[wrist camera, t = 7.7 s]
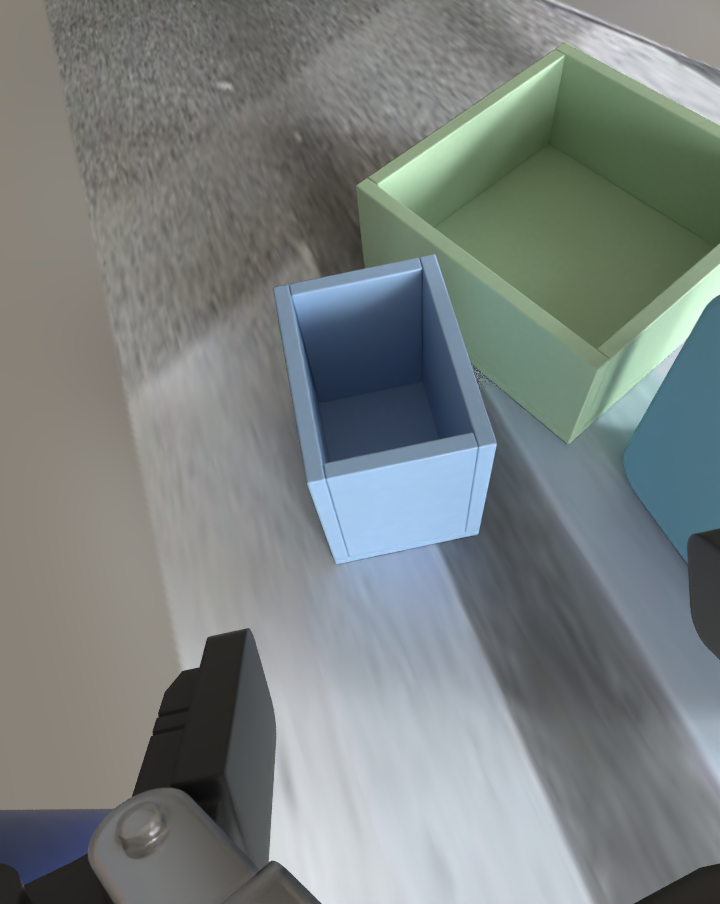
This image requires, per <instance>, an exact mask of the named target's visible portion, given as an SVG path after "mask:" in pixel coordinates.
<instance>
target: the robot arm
mask: <svg viewBox="0 0 720 904" xmlns="http://www.w3.org/2000/svg"><path fill="white" fill-rule="evenodd" d="M687 556H688V573H689V591H690V608H691V615H692V620H693V623H694V626H695V628H696V631H697V633H698V635H699V637H700V638H701V640H702V641H703V643H704V644H705V645H706V646H707V647H708V649H709V650H710V651H711V652H712V653H713V654H714V655H715V656H716V657H717V658H718V659H719V660H720V528H718V529H713V530H709V531H704V532H700V533H695V534H692V535H691V536H690V537H689V539H688V543H687ZM158 715H159V718H157V719H156V722H155V726H154V729H153V736H151V738H150V741H149V744H148V747H147V751H146V754H145V757H144V760H143V763H142V767H141V770H140V773H139V776H138V779H137V782H136V785H135V789H134V792H133V795H132V798H130V799H128V800H126V801H125V802H123V803H122V804H120V805H119V806H118V807H116V808H115V809H114V810H113V811H111V812H110V813H109V814H108V815H107V816H106V817H105V818H104V819H103V821H102V822H101V823H100V824H99V826H98V827H97V829H96V830H95V832H94V834H93V836H92V838H91V840H90V843H89V847H88V853H87V854H86V855H84V856H82V857H81V858H79V859H77V860H75V861H73V862H72V863H70V864H68V865H65V866H63V867H61V868H59V869H57V870H55V871H53V872H51V873H49V874H47V875H45V876H42V877H40V878H38V879H36V880H34V881H32V882H30V883H28V884H26V885H23V883H22V880H21V878H20V876H19V874H18V872H17V871H16V870H15V869H14V868H13V867H11V866H9V865H6V864H0V904H321V903H320V902H319V901H318V900H317V899H316V898H315V897H314V896H313V895H312V894H311V893H310V892H309V891H308V890H307V889H306V888H305V887H304V886H303V885H302V884H301V883H300V882H299V881H298V880H297V879H296V878H295V877H294V876H293V875H292V874H291V873H290V872H289V871H288V870H287V869H286V868H285V867H283V866H282V865H281V864H279V863H278V862H276V861H270V862H269V846H270V830H271V814H272V797H273V781H274V765H275V749H276V722H275V715H274V709H273V704H272V700H271V696H270V692H269V689H268V685H267V682H266V678H265V675H264V671H263V667H262V664H261V660H260V657H259V653H258V650H257V646H256V643H255V639H254V636H253V634H252V632H251V630H250V629H249V628H247V629H242V630H238V631H233V632H228V633H224V634H219V635H214V636H210V637H208V638H207V641H206V644H205V648H204V652H203V656H202V660H201V664H200V667H199V668H195V669H190V670H185V671H182V672H181V673H180V675H179V676H178V677H177V678H176V680H175V681H174V682H173V683H172V684H171V686H170V687H169V688H168V689H167V690H166V692H165V694H164V697H163V700H162V703H161V706H160V709H159V713H158ZM268 862H269V863H268ZM634 904H720V864H716V865H711V866H706V867H702V868H699V869H697V870H695V871H693V872H692V873H690V874H688V875H686V876H684V877H682V878H681V879H679V880H677V881H675V882H673V883H671V884H669V885H668V886H666V887H664V888H662V889H660V890H658V891H657V892H655V893H653V894H651V895H649V896H647V897H645V898H644V899H642V900H640V901H638V902H636V903H634Z"/></svg>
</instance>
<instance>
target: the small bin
mask: <svg viewBox="0 0 720 904" xmlns="http://www.w3.org/2000/svg"><path fill="white" fill-rule="evenodd" d="M273 292H274V298H275V304H276V310H277V315H278V321H279V327H280V333H281V339H282V344H283V350H284V356H285V362H286V367H287V373H288V379H289V385H290V391H291V396H292V402H293V408H294V414H295V419H296V425H297V431H298V437H299V442H300V448H301V454H302V460H303V466H304V471H305V477H306V483H307V486H308V488H309V491H310V494H311V497H312V500H313V502H314V505H315V508H316V511H317V513H318V516H319V519H320V522H321V525H322V527H323V530H324V533H325V536H326V538H327V541H328V544H329V547H330V550H331V552H332V555H333V558H334V561H335V563H336V564H341V563H346V562H350V561H355V560H360V559H364V558H369V557H374V556H378V555H383V554H388V553H393V552H397V551H402V550H407V549H411V548H416V547H421V546H425V545H430V544H435V543H440V542H444V541H449V540H454V539H458V538H463V537H468V536H473V535H477V534H479V529H480V524H481V519H482V514H483V509H484V504H485V499H486V494H487V490H488V485H489V480H490V475H491V470H492V465H493V460H494V455H495V451H496V446H497V442H496V438H495V435H494V432H493V429H492V426H491V423H490V420H489V417H488V414H487V411H486V408H485V405H484V402H483V399H482V396H481V393H480V390H479V387H478V384H477V380H476V377H475V374H474V371H473V368H472V365H471V362H470V359H469V356H468V353H467V350H466V347H465V344H464V341H463V338H462V335H461V332H460V329H459V325H458V322H457V319H456V316H455V313H454V310H453V307H452V304H451V301H450V298H449V295H448V292H447V289H446V286H445V283H444V280H443V277H442V274H441V271H440V267H439V264H438V261H437V258H436V256H435V254H433V255H428V256H423V257H420V259H419V258H414V259H409V260H404V261H399V262H394V263H389V264H384V265H380V266H375V267H370V268H365V269H360V270H355V271H350V272H345V273H341V274H336V275H331V276H326V277H321V278H316V279H311V280H307V281H302V282H297V283H292V284H290V286H289V285H282V286H277V287H274V288H273Z"/></svg>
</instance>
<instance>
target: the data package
mask: <svg viewBox="0 0 720 904" xmlns="http://www.w3.org/2000/svg"><path fill="white" fill-rule="evenodd" d="M623 459H624V468H625V472H626V475H627V478H628V480H629V482H630V484H631V486H632V488H633V490H634V491H635V493H636V494H637V496H638V497H639V499H640V500H641V501H642V503H643V504H644V506H645V507H646V508H647V510H648V511H649V512H650V514H651V515H652V516H653V518H654V519H655V520H656V522H657V523H658V525H659V526H660V527H661V529H662V530H663V531H664V533H665V534H666V535H667V537H668V538H669V540H670V541H671V542H672V544H673V545H674V546H675V548H676V549H677V550H678V552H679V553H680V555H681V556H682V557H683V559H684V560H685V561H686V563H687V564H688V556H687V543H688V539H689V537H690V536H691V535H692V534H695V533H700V532H704V531H709V530H713V529H718V528H720V295H718V296H716V297H715V298H713V299H712V300H711V301H710V302H709V303H708V304H707V306H706V307H705V308H704V310H703V312H702V314H701V315H700V317H699V319H698V321H697V322H696V324H695V326H694V328H693V329H692V331H691V333H690V335H689V337H688V338H687V340H686V342H685V344H684V345H683V347H682V349H681V351H680V352H679V354H678V356H677V358H676V359H675V361H674V363H673V365H672V367H671V368H670V370H669V372H668V374H667V375H666V377H665V379H664V381H663V382H662V384H661V386H660V388H659V390H658V391H657V393H656V395H655V397H654V398H653V400H652V402H651V404H650V405H649V407H648V409H647V411H646V412H645V414H644V416H643V418H642V420H641V421H640V423H639V425H638V427H637V428H636V430H635V432H634V434H633V435H632V437H631V439H630V441H629V443H628V444H627V446H626V448H625V451H624V457H623Z"/></svg>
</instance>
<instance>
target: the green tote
mask: <svg viewBox="0 0 720 904" xmlns="http://www.w3.org/2000/svg"><path fill="white" fill-rule="evenodd" d="M356 193H357V203H358V212H359V221H360V230H361V240H362V249H363V258H364V265H365V268H370V267H375V266H380V265H384V264H389V263H394V262H399V261H404V260H409V259H414V258H419V259H420V257H423V256H428V255H433V254H435V256H436V258H437V261H438V264H439V267H440V271H441V274H442V277H443V280H444V283H445V286H446V289H447V292H448V295H449V298H450V301H451V304H452V307H453V310H454V313H455V316H456V319H457V322H458V325H459V329H460V332H461V335H462V338H463V341H464V344H465V347H466V350H467V353H468V356H469V359H470V362H471V364H472V365H473V366H474V367H476V368H477V369H478V370H479V371H480V372H482V373H483V374H484V375H485V376H486V377H488V378H489V379H490V380H491V381H492V382H494V383H495V384H496V385H497V386H498V387H500V388H501V389H502V390H503V391H504V392H506V393H507V394H508V395H509V396H510V397H512V398H513V399H514V400H515V401H516V402H518V403H519V404H520V405H521V406H522V407H524V408H525V409H526V410H527V411H528V412H530V413H531V414H532V415H533V416H534V417H536V418H537V419H538V420H539V421H540V422H542V423H543V424H544V425H545V426H546V427H548V428H549V429H550V430H551V431H552V432H554V433H555V434H556V435H557V436H558V437H560V438H561V439H562V440H563V441H564V442H566V443H567V444H570V443H571V442H572V441H574V440H575V439H576V438H577V437H578V436H579V435H580V434H581V433H582V432H584V431H585V430H586V429H587V428H588V427H589V426H590V425H591V424H592V423H594V422H595V421H596V420H597V419H598V418H599V417H600V416H601V415H603V414H604V413H605V412H606V411H607V410H608V409H609V408H610V407H611V406H613V405H614V404H615V403H616V402H617V401H618V400H619V399H620V398H621V397H623V396H624V395H625V394H626V393H627V392H628V391H629V390H630V389H632V388H633V387H634V386H635V385H636V384H637V383H638V382H639V381H640V380H642V379H643V378H644V377H645V376H646V375H647V374H648V373H649V372H650V371H652V370H653V369H654V368H655V367H656V366H657V365H658V364H659V363H660V362H662V361H663V360H664V359H665V358H666V357H667V356H668V355H669V354H671V353H672V352H673V351H674V350H675V349H676V348H677V347H678V346H679V345H681V344H682V343H683V342H684V341H685V340H686V339H687V338H688V337H689V335H690V333H691V331H692V329H693V328H694V326H695V324H696V322H697V321H698V319H699V317H700V315H701V314H702V312H703V310H704V308H705V307H706V306H707V304H708V303H709V302H710V301H711V300H712V299H713V298H715V297H716V296H718V295H720V126H719V125H717V124H716V123H714V122H712V121H710V120H708V119H706V118H704V117H703V116H701V115H699V114H697V113H695V112H693V111H691V110H689V109H688V108H686V107H684V106H682V105H680V104H678V103H676V102H675V101H673V100H671V99H669V98H667V97H665V96H663V95H662V94H660V93H658V92H656V91H654V90H652V89H650V88H649V87H647V86H645V85H643V84H641V83H639V82H637V81H636V80H634V79H632V78H630V77H628V76H626V75H624V74H622V73H621V72H619V71H617V70H615V69H613V68H611V67H609V66H608V65H606V64H604V63H602V62H600V61H598V60H596V59H595V58H593V57H591V56H589V55H587V54H585V53H583V52H582V51H580V50H578V49H576V48H574V47H572V46H570V45H569V44H567V43H563V44H562V45H560V46H559V47H557V48H556V49H555V50H553V51H552V52H550V53H549V54H547V55H546V56H544V57H543V58H541V59H540V60H538V61H537V62H536V63H534V64H533V65H531V66H530V67H528V68H527V69H525V70H524V71H522V72H521V73H519V74H518V75H517V76H515V77H514V78H512V79H511V80H509V81H508V82H506V83H505V84H503V85H502V86H500V87H499V88H498V89H496V90H495V91H493V92H492V93H490V94H489V95H487V96H486V97H484V98H483V99H481V100H480V101H479V102H477V103H476V104H474V105H473V106H471V107H470V108H468V109H467V110H465V111H464V112H462V113H461V114H460V115H458V116H457V117H455V118H454V119H452V120H451V121H449V122H448V123H446V124H445V125H443V126H442V127H441V128H439V129H438V130H436V131H435V132H433V133H432V134H430V135H429V136H427V137H426V138H424V139H423V140H422V141H420V142H419V143H417V144H416V145H414V146H413V147H411V148H410V149H408V150H407V151H405V152H404V153H403V154H401V155H400V156H398V157H397V158H395V159H394V160H392V161H391V162H389V163H388V164H386V165H385V166H384V167H382V168H381V169H379V170H378V171H376V172H375V173H373V174H372V175H370V176H369V177H368V178H366V179H364V180H363V181H362V182H360V183H359V184H357V185H356Z"/></svg>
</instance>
